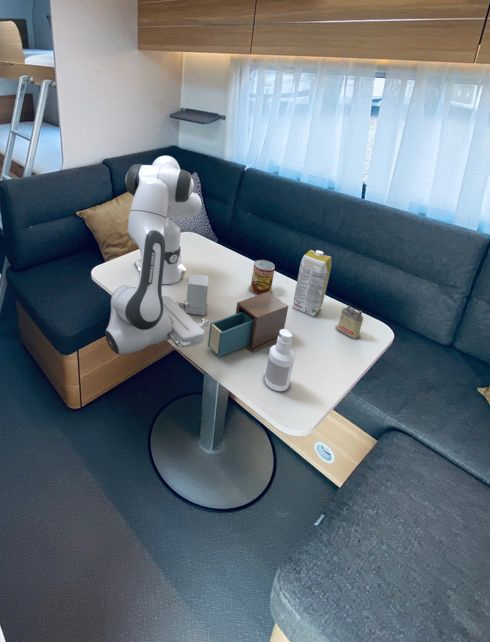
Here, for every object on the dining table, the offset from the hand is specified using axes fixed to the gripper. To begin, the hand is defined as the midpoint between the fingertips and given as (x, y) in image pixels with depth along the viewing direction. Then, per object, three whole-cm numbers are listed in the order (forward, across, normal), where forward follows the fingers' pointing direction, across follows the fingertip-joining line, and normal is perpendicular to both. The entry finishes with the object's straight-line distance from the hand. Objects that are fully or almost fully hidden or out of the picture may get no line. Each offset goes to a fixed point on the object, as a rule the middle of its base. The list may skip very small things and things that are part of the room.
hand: (197, 312), depth 125 cm
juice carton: (+53, 0, +16) cm, 55 cm away
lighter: (+55, -16, +16) cm, 59 cm away
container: (+12, -3, +15) cm, 19 cm away
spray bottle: (+15, -21, +16) cm, 30 cm away
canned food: (+46, +17, +16) cm, 51 cm away
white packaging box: (+15, +19, +16) cm, 29 cm away
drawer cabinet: (+25, -3, +16) cm, 29 cm away
